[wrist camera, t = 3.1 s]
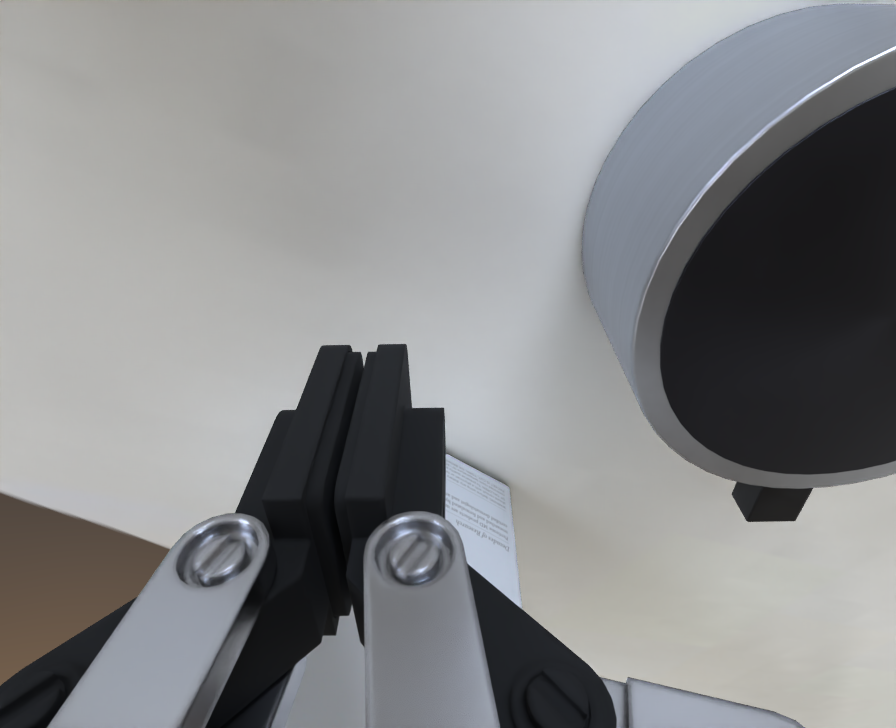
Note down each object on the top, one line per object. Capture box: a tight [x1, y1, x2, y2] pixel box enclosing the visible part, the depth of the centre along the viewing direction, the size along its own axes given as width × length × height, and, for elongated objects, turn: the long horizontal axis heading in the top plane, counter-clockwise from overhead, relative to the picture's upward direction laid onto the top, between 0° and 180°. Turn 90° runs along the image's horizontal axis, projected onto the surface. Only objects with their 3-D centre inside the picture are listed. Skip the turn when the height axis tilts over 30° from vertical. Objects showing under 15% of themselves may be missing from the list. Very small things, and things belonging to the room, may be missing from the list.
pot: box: [582, 4, 896, 522], centre depth 15 cm, size 16×12×6 cm
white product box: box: [284, 454, 522, 728], centre depth 19 cm, size 9×9×15 cm
